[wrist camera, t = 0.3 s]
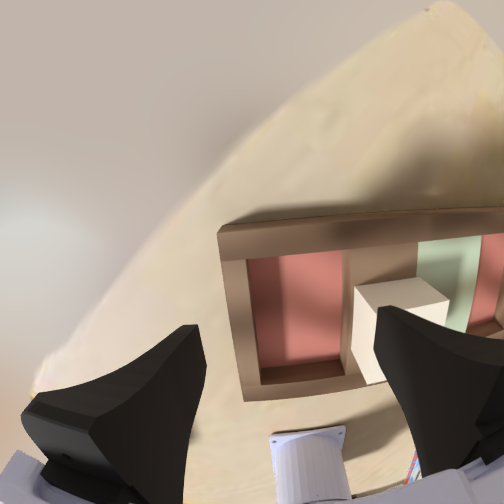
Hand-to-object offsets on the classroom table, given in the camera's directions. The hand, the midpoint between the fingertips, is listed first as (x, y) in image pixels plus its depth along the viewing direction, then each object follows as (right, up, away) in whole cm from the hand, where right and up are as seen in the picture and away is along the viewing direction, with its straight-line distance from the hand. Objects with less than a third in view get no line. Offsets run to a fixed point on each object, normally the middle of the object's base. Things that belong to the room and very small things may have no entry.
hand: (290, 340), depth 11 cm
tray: (+11, 0, +10) cm, 14 cm away
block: (+8, -1, +7) cm, 11 cm away
